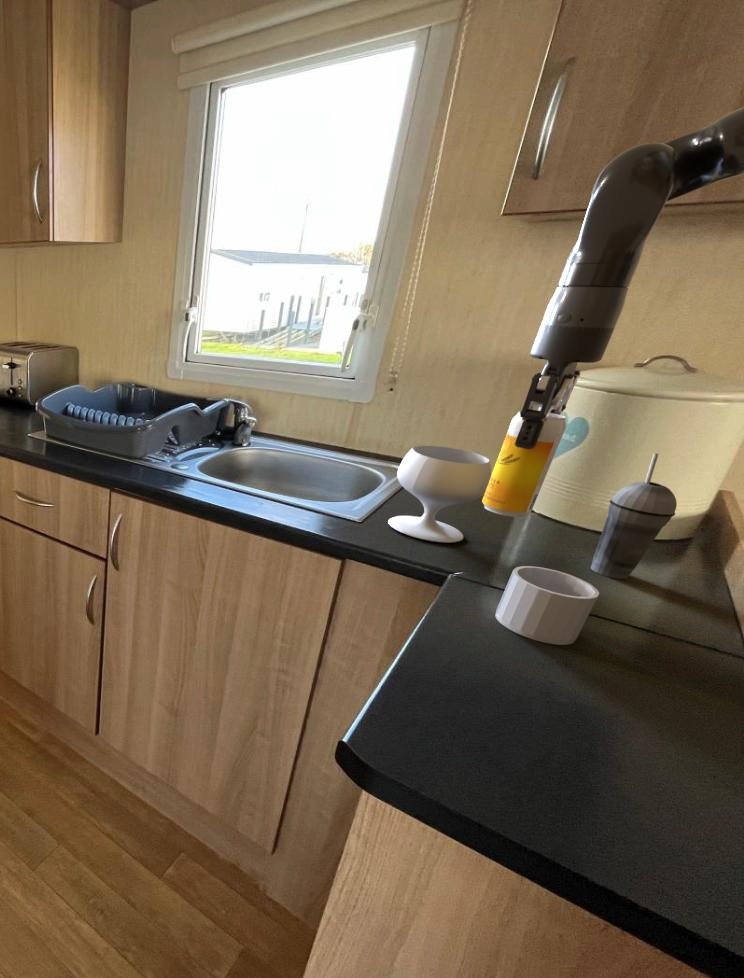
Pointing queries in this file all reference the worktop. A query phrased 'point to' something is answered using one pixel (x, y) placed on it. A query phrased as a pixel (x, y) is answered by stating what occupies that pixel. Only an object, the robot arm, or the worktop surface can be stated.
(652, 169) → the robot arm
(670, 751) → the worktop surface
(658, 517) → the beverage cup
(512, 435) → the beer can
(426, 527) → the chalice
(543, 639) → the can holder
